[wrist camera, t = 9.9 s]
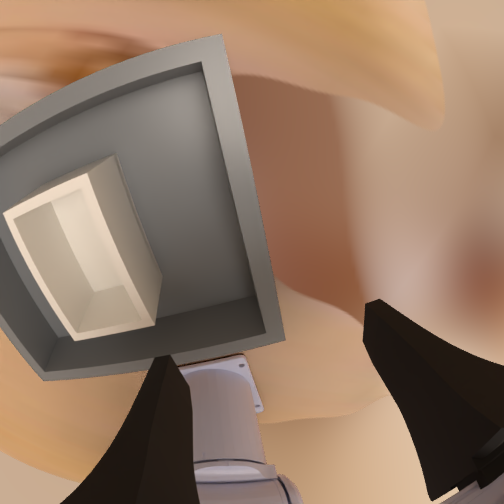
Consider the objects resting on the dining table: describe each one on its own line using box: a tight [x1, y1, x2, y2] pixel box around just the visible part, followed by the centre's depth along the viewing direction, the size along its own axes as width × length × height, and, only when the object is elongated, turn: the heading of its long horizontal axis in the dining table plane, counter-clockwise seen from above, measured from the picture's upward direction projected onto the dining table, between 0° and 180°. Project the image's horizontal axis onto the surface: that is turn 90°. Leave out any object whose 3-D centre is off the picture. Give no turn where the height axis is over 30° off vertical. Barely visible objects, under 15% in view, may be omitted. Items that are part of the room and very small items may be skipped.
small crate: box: [3, 153, 163, 341], centre depth 14 cm, size 8×5×4 cm, turn 12°
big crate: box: [0, 34, 286, 381], centre depth 15 cm, size 16×18×4 cm
